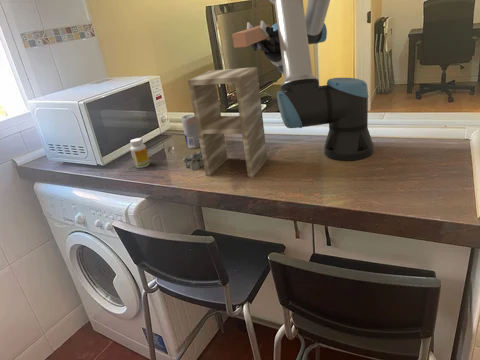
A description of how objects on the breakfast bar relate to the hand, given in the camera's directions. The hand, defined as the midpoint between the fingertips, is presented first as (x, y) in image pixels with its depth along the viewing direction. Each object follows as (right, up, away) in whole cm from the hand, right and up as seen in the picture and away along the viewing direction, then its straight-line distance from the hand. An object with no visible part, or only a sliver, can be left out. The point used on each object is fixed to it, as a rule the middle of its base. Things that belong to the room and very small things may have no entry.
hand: (254, 25), depth 124 cm
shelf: (-6, -46, 0) cm, 47 cm away
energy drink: (-23, -37, +25) cm, 50 cm away
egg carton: (-18, -45, +8) cm, 49 cm away
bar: (0, -5, 0) cm, 5 cm away
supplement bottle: (-40, -45, +14) cm, 62 cm away
